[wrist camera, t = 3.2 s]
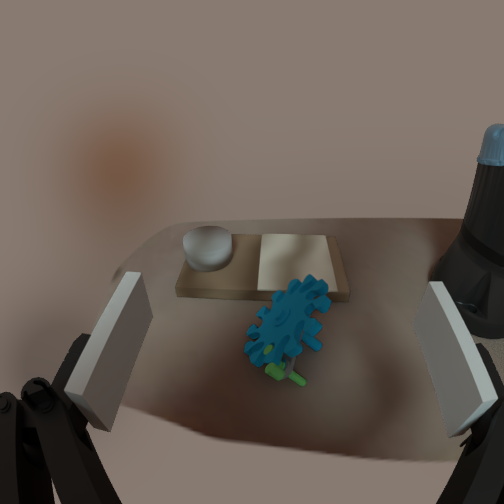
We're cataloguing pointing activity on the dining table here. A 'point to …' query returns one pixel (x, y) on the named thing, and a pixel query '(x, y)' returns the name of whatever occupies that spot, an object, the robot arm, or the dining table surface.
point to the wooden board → (257, 264)
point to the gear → (288, 328)
